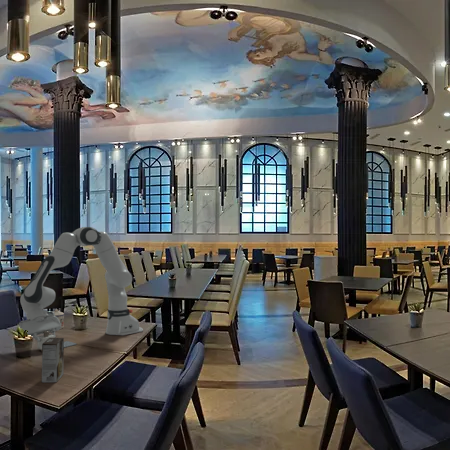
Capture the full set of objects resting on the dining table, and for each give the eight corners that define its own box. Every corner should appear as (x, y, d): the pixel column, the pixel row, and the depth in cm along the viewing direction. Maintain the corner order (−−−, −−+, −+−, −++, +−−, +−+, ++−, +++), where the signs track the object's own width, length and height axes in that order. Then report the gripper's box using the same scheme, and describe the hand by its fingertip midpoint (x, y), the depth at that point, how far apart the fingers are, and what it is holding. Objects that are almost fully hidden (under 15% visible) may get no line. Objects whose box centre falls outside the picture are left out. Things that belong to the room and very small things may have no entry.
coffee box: (48, 374, 177) (49, 337, 177) (63, 374, 178) (64, 337, 178) (40, 382, 168) (41, 343, 168) (57, 382, 169) (57, 343, 169)
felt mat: (67, 341, 229) (67, 341, 229) (77, 344, 224) (77, 343, 224) (52, 345, 222) (52, 344, 222) (62, 348, 216) (62, 347, 216)
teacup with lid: (61, 329, 255) (61, 311, 256) (46, 329, 255) (46, 311, 255) (67, 325, 267) (67, 307, 268) (53, 325, 267) (53, 307, 267)
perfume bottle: (49, 345, 218) (49, 329, 218) (55, 347, 214) (55, 331, 214) (37, 348, 213) (37, 331, 213) (43, 350, 209) (43, 333, 209)
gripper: (19, 317, 209) (29, 340, 204) (56, 311, 226) (66, 331, 220) (15, 325, 212) (25, 347, 206) (52, 318, 228) (62, 338, 223)
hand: (47, 339), depth 213 cm, fingers closed on perfume bottle, 6 cm apart
